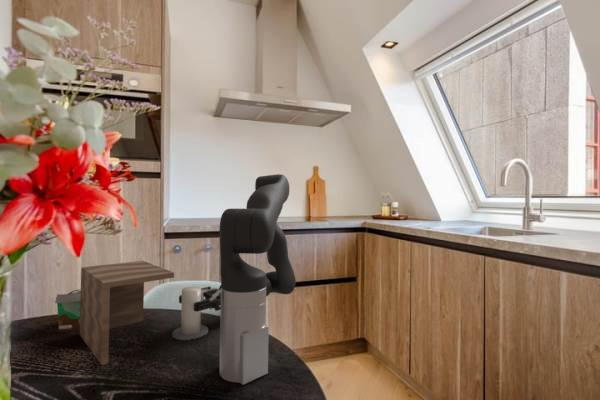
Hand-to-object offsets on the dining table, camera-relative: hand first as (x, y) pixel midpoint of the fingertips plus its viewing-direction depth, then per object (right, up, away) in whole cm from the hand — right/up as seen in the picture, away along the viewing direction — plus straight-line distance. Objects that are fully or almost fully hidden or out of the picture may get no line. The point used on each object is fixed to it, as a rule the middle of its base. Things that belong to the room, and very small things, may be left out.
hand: (186, 303), depth 83 cm
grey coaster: (+1, -8, +1) cm, 8 cm away
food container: (-30, -8, +5) cm, 32 cm away
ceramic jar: (+1, -8, +1) cm, 8 cm away
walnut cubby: (-14, -8, -4) cm, 16 cm away
